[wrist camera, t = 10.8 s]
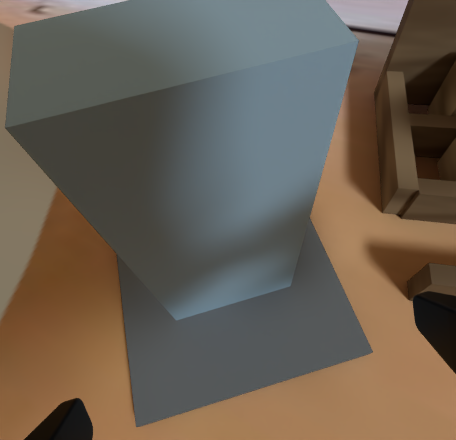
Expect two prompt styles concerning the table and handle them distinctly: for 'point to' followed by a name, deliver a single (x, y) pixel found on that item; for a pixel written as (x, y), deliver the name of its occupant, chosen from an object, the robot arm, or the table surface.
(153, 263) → the pale blue wedge-ended prism
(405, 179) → the rack
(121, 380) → the table surface
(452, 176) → the offcut tall
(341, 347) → the mat
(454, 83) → the offcut short
